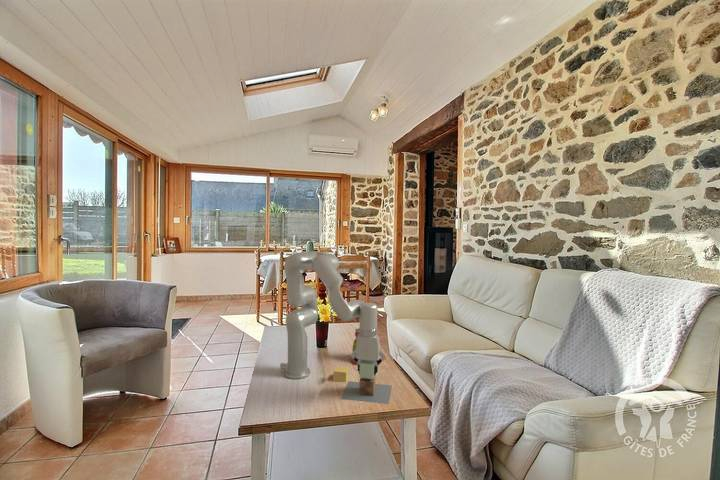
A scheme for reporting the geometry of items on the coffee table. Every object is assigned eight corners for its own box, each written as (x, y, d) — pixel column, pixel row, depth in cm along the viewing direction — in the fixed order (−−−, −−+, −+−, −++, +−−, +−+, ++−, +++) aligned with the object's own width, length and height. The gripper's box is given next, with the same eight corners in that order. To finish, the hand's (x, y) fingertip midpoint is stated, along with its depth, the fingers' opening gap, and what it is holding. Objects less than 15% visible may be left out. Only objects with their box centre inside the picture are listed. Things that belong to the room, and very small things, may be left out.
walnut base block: (359, 394, 143) (359, 380, 142) (361, 387, 149) (361, 374, 148) (373, 395, 142) (373, 382, 141) (375, 389, 148) (375, 375, 147)
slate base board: (340, 402, 139) (340, 398, 139) (348, 384, 155) (348, 381, 155) (388, 407, 136) (388, 403, 136) (392, 388, 151) (392, 385, 151)
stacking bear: (353, 365, 176) (354, 331, 175) (349, 358, 186) (349, 326, 185) (373, 363, 179) (374, 330, 178) (367, 356, 189) (368, 324, 188)
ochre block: (333, 384, 155) (333, 371, 155) (336, 378, 161) (336, 366, 161) (345, 385, 154) (346, 372, 154) (348, 379, 160) (348, 367, 160)
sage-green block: (359, 377, 142) (359, 363, 142) (361, 371, 148) (362, 358, 148) (373, 378, 141) (373, 364, 141) (375, 372, 147) (375, 359, 147)
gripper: (346, 333, 142) (346, 375, 143) (387, 336, 139) (386, 379, 140) (350, 328, 149) (349, 368, 150) (389, 330, 146) (388, 371, 147)
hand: (367, 373), depth 145 cm, fingers closed on sage-green block, 5 cm apart
